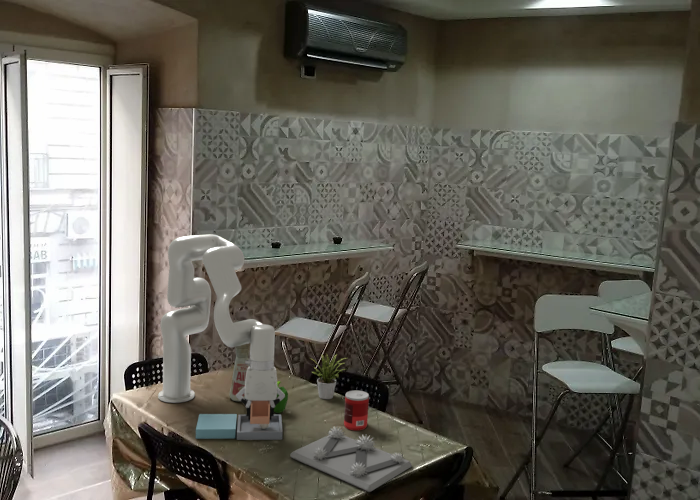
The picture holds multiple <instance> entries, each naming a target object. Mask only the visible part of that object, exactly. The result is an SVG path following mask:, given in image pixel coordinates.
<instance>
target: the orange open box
mask: <svg viewBox="0 0 700 500" xmlns="http://www.w3.org/2000/svg"><path fill="white" fill-rule="evenodd" d="M250 405H251V414H250V424H269V420H270V402H269V401H252V402H251V404H250Z"/></svg>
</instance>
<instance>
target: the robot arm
mask: <svg viewBox="0 0 700 500" xmlns="http://www.w3.org/2000/svg"><path fill="white" fill-rule="evenodd" d="M167 257H168V265H169V267H168V268H169V269H168V280H167V293H166V295H167V296H166V297H167V303H168V304H169V306H171V307H172V308H177V309H174V310H171V311H168V312H166V313H165V314H163V316H162V317H161V319H160V324H159V325H160V331H161V337H162V346H163V347H162V362H163V363H162V390H161V391H159V393H158V394H157V397H158V398H157V399H158V400H160V401H162V402H165V403H170V404H171V403H173V404H179V403H185V402H188V401H191V400H193V399H194V398H195V391H194V390H193V389H191V375H192V374H191V368H192V367H191V365H192V361H191V358H192V348H191V345H190V343H189V341H188V340H187V336H190V335H194V334H199V333H201V332H204V331H206V329H207V327H208V326H209V321H210V314H211V313H210V312H211V302H212V301H211V300H212V290H211V286H212V288H213V290H214V292H215V296H216V300H215V303H214V307H213V322H214V326H215V328H216V330H217V333H218V335H219V337H220V338H219V339H220V341H222V343H223V344H224V345H225V346H227V347H228V348H235V347H237V346H241V345H244V344H249V343H250V348H249V360H245V364H248V365H249V367H248V368H247V372H246V379H245V387H243V388H242V389H241V390H240V391H239V392H238V393H237V394H236V397H237V398H238V399H239V400H240V401H241V403H242V404H243V405H244V407H245V408H246V409H245V410H246V411H245V412H246V414H245V415H246V416H248V420H250V414H251V402H252V401H269V402H270V420H271V417H272V416H274V415H275V412H274V407H275V406H276V405H277V404H278V403H279V402H280V401H281V400H282V399H283V398H284V397H285V394H284V393H283V392H282V391H281V390H280V389H279V388H278V387H279V386H278V387H277V382H278V375H277V369H276V367H275V364H274V363H275V337H276V336H275V335H276V331H275V330H276V329H275V327H274V326H272V325H271V324H267V323H266V324H265V323H262V322H261V321H259V320H257V319H256V318H255V319H254V318H248V319H244V320H240V321H235V322H233V320H232V318H231V315H230V304H231V301H232V300H233V298H234V297H235V296H237V295H238V294H239V293H240V292H241V291H242V284H241V282H240V279H239V278H238V276H237V272H236V271H237V270H241V268H242V267H243V266H244V265H245V256H244V253H243V251H242V249H241V248H240V247H239V246H238V245H237V244H235V243H233V242H231V241H229V240H227V239H225V238H223V237H222V236H219V235H217V234H212V233H211V234H209V233H207V234H199V235H197V234H196V235H194V234H193V235H187V236H186V235H184V236H180V237H176V238H175V239H173V240H172V241H171V242H170V244H169V247H168V250H167ZM195 261H202V263H203V267H204V268H205V270H206V273H207V276H208V277H209V280H210V282H211V286H210V284H209V282H208V280H206V279H205V278H204V277H195V267H194V264H193V262H195ZM178 308H179V309H178ZM244 393H245V398H244V397H243V396H242V395H243V394H244ZM277 394H278V395H279V396H278V397H277ZM276 397H277V398H276ZM240 401H239V402H240Z"/></svg>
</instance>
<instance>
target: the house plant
mask: <svg viewBox="0 0 700 500" xmlns="http://www.w3.org/2000/svg"><path fill="white" fill-rule="evenodd" d="M325 354H326V355H325ZM325 354H322V353H321V354H320V355H321V363H322V364H321V365H322V366H320V364H318V362H317V361H316V360H315V359H313V358H310V357H309V359H310V360H312V361H313V362H314V363H315V364H316V365H317V366H318V368H319V369H317V368H316V367H315V366H314V367H313V368H314V369H315V371H311V373H312V374H314V375H316V376H317V377H318V378H317V380H316V383H317V392H318V397H319V398H320V399H323V400H332V399H333V398H334V395H335V389H336V385H337V379H338V378H339V373H340V372H341V373H343V370H346V368H343V369H338V368H339V367H340V366H341V365H344V364H345V362H342V361H343V360H346V359H347V357H343V358H340V359H339V360H338V361H336V358H337V355H338V354H337V353H336V354H334V356H333V358H332V360H331V361H330V357H329V355H328V354H327V353H326V352H325ZM325 356H326V357H325ZM335 362H336V363H335ZM341 362H342V363H341ZM337 365H338V366H337ZM334 369H335V370H334ZM336 378H337V379H336Z"/></svg>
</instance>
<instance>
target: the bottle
mask: <svg viewBox="0 0 700 500" xmlns="http://www.w3.org/2000/svg"><path fill="white" fill-rule="evenodd" d="M234 348H235V360H234V366H233V373H232V378H231V384H230V389H229V398H230V399H231V400H232V401H233V402H241V401H240V400H239V399H238V398H237V397H236V394H237V393H238V392H239V391H240V390H241V389H242V388H243V387H245V379H246V372H247V368H248V367H249V365H248V364H245V360H249V359H250V357H249V355H250V343H249V344H244V345H241V346H237V347H234ZM242 396H243V397H244V398H245V393H244V394H243V395H242ZM241 403H242V402H241Z"/></svg>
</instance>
